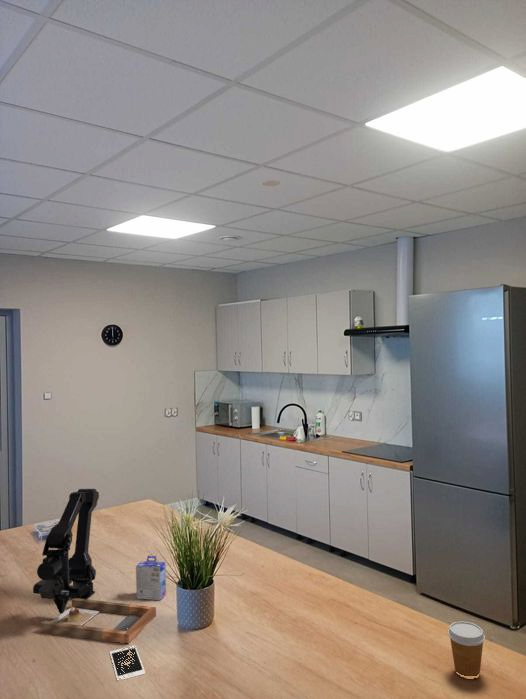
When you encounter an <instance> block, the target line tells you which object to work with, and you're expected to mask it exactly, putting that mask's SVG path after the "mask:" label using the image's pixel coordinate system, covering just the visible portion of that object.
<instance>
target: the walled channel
mask: <svg viewBox="0 0 526 699" xmlns="http://www.w3.org/2000/svg"><path fill="white" fill-rule="evenodd" d="M71 607H75V608H81V609H88V610H94V611H100V612H101V613H107V612H108V614H110V613H111V614H116V613H119V615H124V614H128V615H126V617H125V618H123V619H122V621H120V622H119V623H118V624H117V625H116V626H115V627H113V629H109V628H103V627H96V626H95V627H94V626H87V625H82V626H81V624H80V625H79V624H72V623H64V622H58V621H57V622H51V621H49V620H42V621H41V622H40V632H41V633H45V634H46V633H47V634H52V635H61V636H68V637H74V638H81V639H82V638H83V639H90V640H94V641H95V640H96V641H102V642H109V643H111V642H112V643H117V642H120V643H119V644H124V643H128V644H127V645H130V644H131V643H130V642H131V641H132V640H133V639H136V637H138V636H139V634H141V632H142V631H143V630H144V629H145V628H146V627H147V626H148V625H149V624H150V623H151V622H152V621H153V620H154V619H155V618H154V617H157V607H156V606H147V605H138V604H131V603H121V602H114V601H113V602H112V601H104V600H96V599H95V600H94V599H88V598H87V599H79V598H73V599H72V598H71ZM100 612H99V613H100ZM153 618H154V619H153ZM151 620H152V621H151ZM150 621H151V622H150ZM149 622H150V623H149ZM148 623H149V624H148ZM147 624H148V625H147ZM146 625H147V626H146ZM145 626H146V627H145ZM144 627H145V628H144ZM127 628H128V629H127ZM143 628H144V629H143ZM141 630H142V631H141ZM133 641H134V640H133ZM133 641H132V642H133ZM129 643H130V644H129Z"/></svg>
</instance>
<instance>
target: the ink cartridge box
mask: <svg viewBox="0 0 526 699" xmlns="http://www.w3.org/2000/svg"><path fill="white" fill-rule="evenodd" d="M151 559H153V560H151ZM135 575H136V576H135V580H136V581H135V582H136V583H135V585H136V587H135V588H136V599H140V600H154V601H162V599H163V598H164V597H165V596H166V595H167V582H166V581H167V579H166V577H167V576H166V575H167V573H166V562H165V561H157V556H156V555H147V557H146V561H143V560H142V561H140V562H139V563H137V565H135Z"/></svg>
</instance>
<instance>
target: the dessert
mask: <svg viewBox="0 0 526 699" xmlns="http://www.w3.org/2000/svg"><path fill="white" fill-rule="evenodd" d="M81 613H84V614H90V615H92V616H90V617H89V618H88V619H86V620H85V621H84V622H82V623H81V624H80V625H81V626H84V624H85V623H87V622H89V621H90V620H91V619H92V618H93V617H95V616H96V615H97V614H98V613H100V611H94V610H88V609H81V608H75V607H72V606H71V607H69V608H68V609H67V610H64V612H63V613H62V614H59V615H58V616H56V617H55V618H54V619H52V620H51V621H50V622H58V621H60V620H62V619H63V618H64V617H65V616H67V615H68V616H67V622H69V623H77V622H79V621H80V620H82V616H81Z"/></svg>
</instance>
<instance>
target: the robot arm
mask: <svg viewBox="0 0 526 699" xmlns="http://www.w3.org/2000/svg"><path fill="white" fill-rule="evenodd" d="M99 497H100V492H99V491H97V488H79V489H78V490H77V491H73V492H71V493H70V494H69V497H68V499H69V500H68V502H67V503H66V506H65V508H64V510H63V513H62V515H61V517H60V519H59V521H58V523H57V524H55V525H54V526H52V528H51V529H50V531H49V532H48V534H47V536H46V539H45V543H44V547H43V551H42V555H41V556H42V557H43V556H44V557H43V559H42V562H41V564H39V565H38V567H37V570H36V573H37V574H36V575H37V576H38V578H39V579H40V580H39V581H37V582H35V583H34V585H33V587H32V594H38V595H40V598H41V599H43V600H44V599H48V600H53V602H54V603H55V606H56V608H57V610H58V611H57V612H58V613H59V615H61V614H62V613H64V612H65V611H66V610H65V609H66V607H67V605H68V602H69V599H71V600H72V599H73V598H79V599H88V598H90V597H91V596H92V595H94V594H95V592H96V591H95V590H94V582H93V581H94V580H95V579H96V574H97V570H96V569H95V568H94V566H93V564H92V563H93V561H92V558H91V556H90V553H89V546H90V536H91V535H90V534H91V524H92V514H93V511H94V510H95V509H96V507H97V505H98V500H99ZM76 520H77V525H76V526H77V527H76V534H75V535H76V536H75V537H76V538H75V546H74V553H73V555H71V557H70V558H69V556H70V555H69V552H70V550H71V544H72V542H73V537H74V534H73V531H72V529H73V527H74V524H75V522H76ZM45 556H46V557H45Z"/></svg>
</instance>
